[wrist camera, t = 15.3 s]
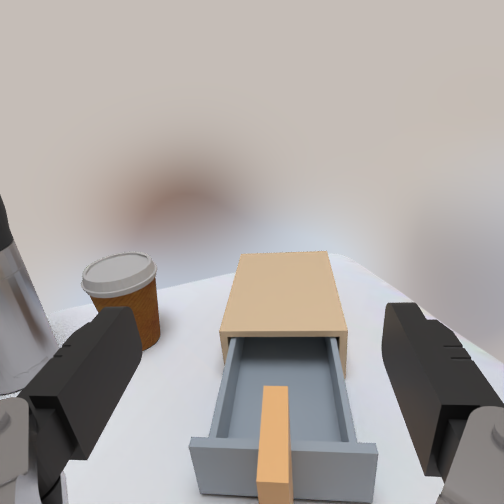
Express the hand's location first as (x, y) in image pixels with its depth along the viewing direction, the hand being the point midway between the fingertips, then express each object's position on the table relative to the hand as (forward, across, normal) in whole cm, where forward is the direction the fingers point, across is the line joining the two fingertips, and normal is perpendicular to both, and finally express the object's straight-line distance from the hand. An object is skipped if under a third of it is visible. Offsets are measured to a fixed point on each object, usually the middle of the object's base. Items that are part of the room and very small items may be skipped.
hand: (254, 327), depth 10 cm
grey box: (+14, 0, +23) cm, 27 cm away
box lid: (+30, 0, +24) cm, 39 cm away
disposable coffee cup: (+28, +21, +24) cm, 42 cm away
